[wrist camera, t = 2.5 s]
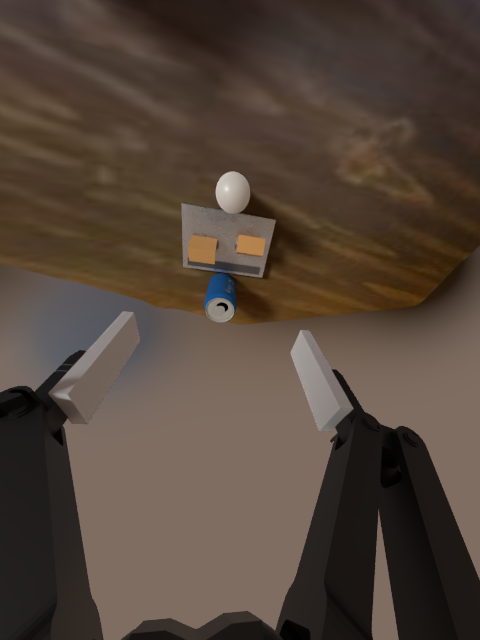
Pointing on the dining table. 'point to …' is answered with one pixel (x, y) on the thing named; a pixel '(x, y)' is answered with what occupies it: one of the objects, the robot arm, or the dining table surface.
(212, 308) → the beverage can
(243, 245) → the paddle
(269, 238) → the breaker plate
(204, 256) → the paddle
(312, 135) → the dining table surface
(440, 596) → the robot arm
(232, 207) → the white rounded smooth part
